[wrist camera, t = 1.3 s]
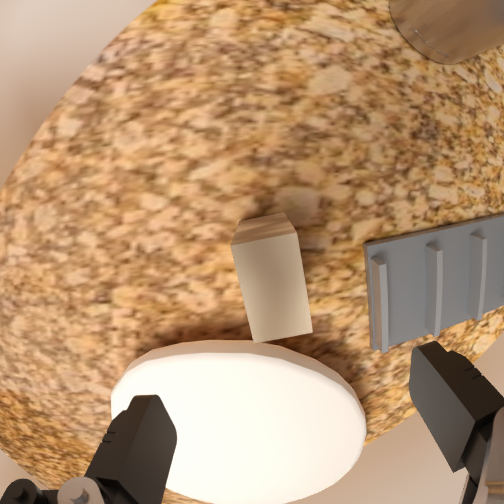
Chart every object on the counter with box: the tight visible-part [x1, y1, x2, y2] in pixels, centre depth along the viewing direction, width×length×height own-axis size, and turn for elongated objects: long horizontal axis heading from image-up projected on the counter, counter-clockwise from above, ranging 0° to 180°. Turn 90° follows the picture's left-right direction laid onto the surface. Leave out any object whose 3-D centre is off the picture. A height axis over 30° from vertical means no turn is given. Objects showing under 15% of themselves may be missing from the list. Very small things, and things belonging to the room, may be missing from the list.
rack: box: [363, 213, 504, 353], centre depth 23 cm, size 17×10×3 cm, turn 102°
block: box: [231, 212, 313, 343], centre depth 21 cm, size 4×6×8 cm, turn 12°
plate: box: [111, 340, 366, 504], centre depth 27 cm, size 28×6×27 cm
